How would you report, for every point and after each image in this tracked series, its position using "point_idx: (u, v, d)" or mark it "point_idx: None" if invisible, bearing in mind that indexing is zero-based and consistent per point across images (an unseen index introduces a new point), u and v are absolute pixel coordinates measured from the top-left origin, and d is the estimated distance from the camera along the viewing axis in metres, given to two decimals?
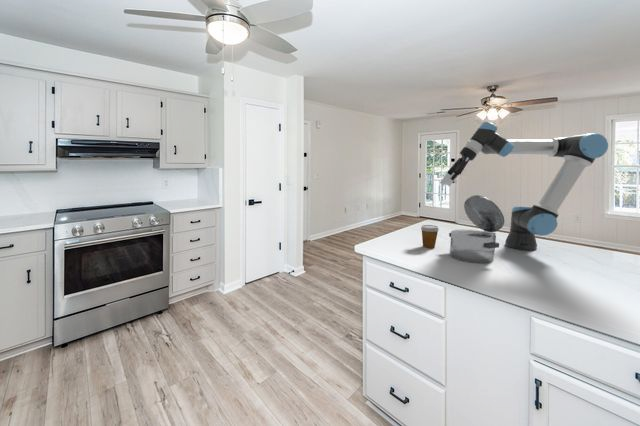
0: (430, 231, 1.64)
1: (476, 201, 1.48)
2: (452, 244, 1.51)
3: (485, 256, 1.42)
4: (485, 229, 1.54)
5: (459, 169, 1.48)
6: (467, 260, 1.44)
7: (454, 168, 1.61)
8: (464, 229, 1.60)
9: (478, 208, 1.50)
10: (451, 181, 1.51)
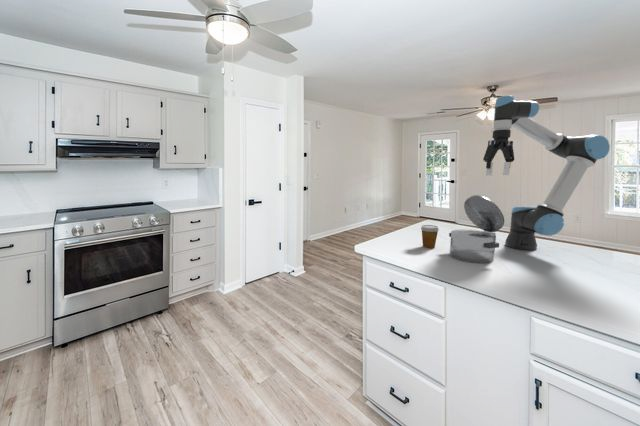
0: (430, 231, 1.64)
1: (476, 201, 1.48)
2: (452, 244, 1.51)
3: (485, 256, 1.42)
4: (485, 229, 1.54)
5: (485, 156, 1.46)
6: (467, 260, 1.44)
7: (504, 153, 1.50)
8: (464, 229, 1.60)
9: (478, 208, 1.50)
10: (489, 170, 1.47)
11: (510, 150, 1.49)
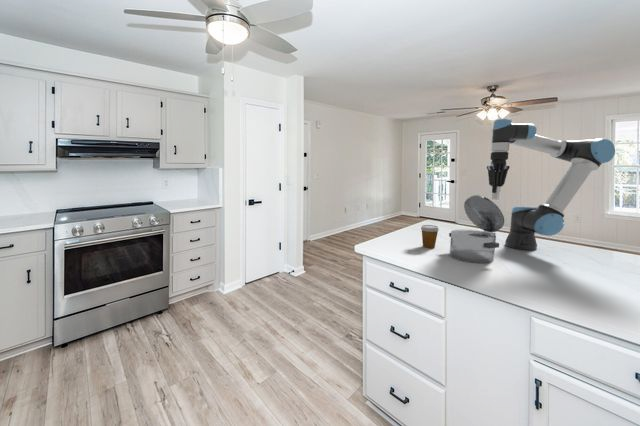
0: (430, 231, 1.64)
1: (476, 201, 1.48)
2: (452, 244, 1.51)
3: (485, 256, 1.42)
4: (485, 229, 1.54)
5: (490, 181, 1.49)
6: (467, 260, 1.44)
7: None
8: (464, 229, 1.60)
9: (478, 208, 1.50)
10: (495, 194, 1.51)
11: (504, 174, 1.50)
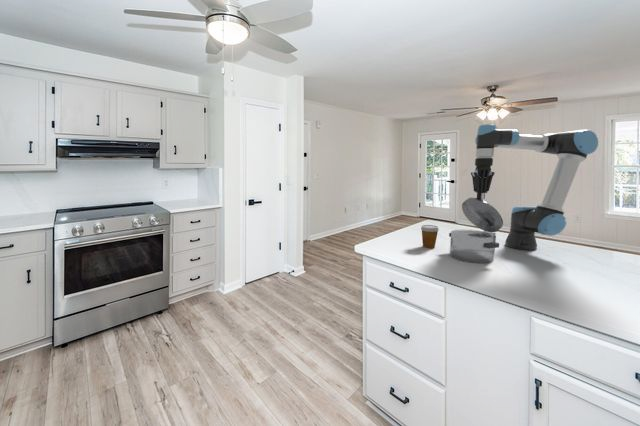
0: (430, 231, 1.64)
1: (473, 204, 1.47)
2: (452, 244, 1.51)
3: (485, 256, 1.42)
4: (485, 229, 1.54)
5: (474, 188, 1.47)
6: (467, 260, 1.44)
7: None
8: (464, 229, 1.60)
9: (476, 210, 1.49)
10: None
11: (488, 180, 1.47)
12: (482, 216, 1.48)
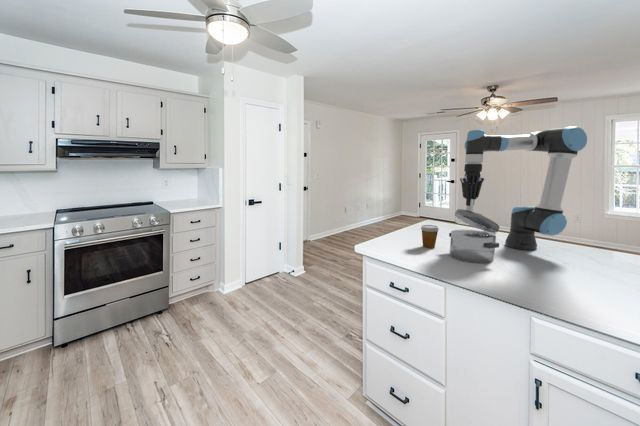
0: (430, 231, 1.64)
1: (464, 215, 1.47)
2: (452, 244, 1.51)
3: (485, 256, 1.42)
4: (484, 230, 1.54)
5: (464, 194, 1.45)
6: (467, 260, 1.44)
7: None
8: (464, 229, 1.60)
9: (470, 219, 1.49)
10: (469, 207, 1.46)
11: (478, 186, 1.46)
12: (477, 223, 1.48)
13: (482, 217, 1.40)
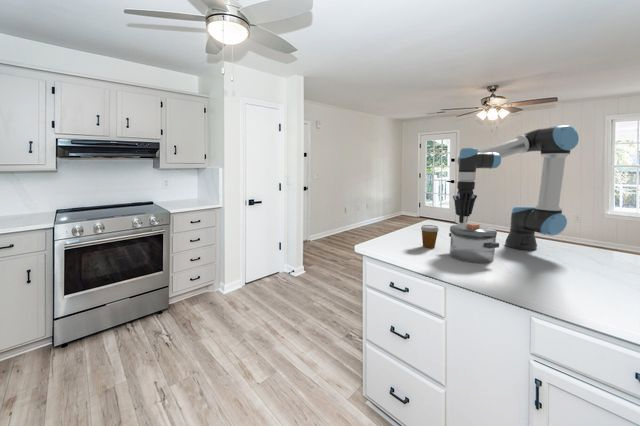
0: (430, 231, 1.64)
1: None
2: (452, 244, 1.51)
3: (485, 256, 1.42)
4: None
5: (457, 211, 1.45)
6: (467, 260, 1.44)
7: None
8: None
9: None
10: (462, 224, 1.46)
11: (471, 203, 1.46)
12: None
13: (476, 234, 1.40)
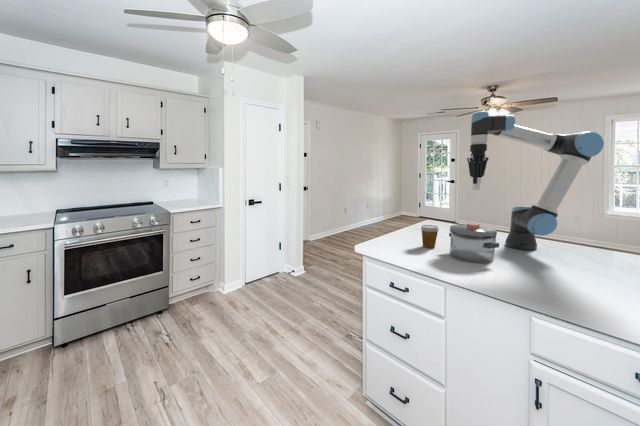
0: (430, 231, 1.64)
1: None
2: (452, 244, 1.51)
3: (485, 256, 1.42)
4: None
5: (470, 173, 1.54)
6: (467, 260, 1.44)
7: None
8: None
9: None
10: (476, 185, 1.56)
11: (483, 165, 1.56)
12: None
13: (476, 234, 1.40)
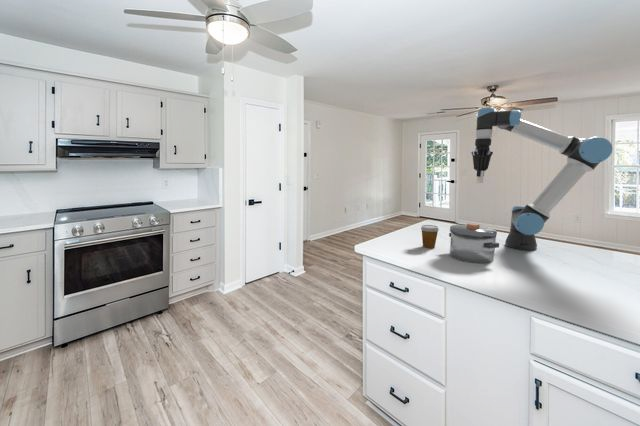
0: (430, 231, 1.64)
1: None
2: (452, 244, 1.51)
3: (485, 256, 1.42)
4: None
5: (474, 166, 1.61)
6: (467, 260, 1.44)
7: None
8: None
9: None
10: (479, 178, 1.62)
11: (487, 159, 1.62)
12: None
13: (476, 234, 1.40)
